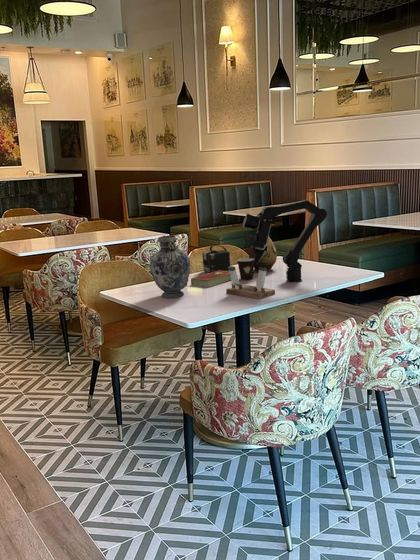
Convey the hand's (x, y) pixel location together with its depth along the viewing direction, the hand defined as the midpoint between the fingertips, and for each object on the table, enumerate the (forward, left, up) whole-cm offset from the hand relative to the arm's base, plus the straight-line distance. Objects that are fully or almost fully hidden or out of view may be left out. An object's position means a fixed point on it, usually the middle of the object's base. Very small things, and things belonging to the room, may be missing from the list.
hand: (256, 263), depth 256 cm
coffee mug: (+2, -16, -11) cm, 20 cm away
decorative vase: (+41, +8, -11) cm, 43 cm away
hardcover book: (+21, -16, -11) cm, 28 cm away
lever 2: (+2, +22, -8) cm, 24 cm away
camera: (+18, -43, -11) cm, 48 cm away
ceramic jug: (-8, -37, -11) cm, 40 cm away
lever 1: (+11, +12, -8) cm, 18 cm away
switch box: (+5, +16, -11) cm, 20 cm away
